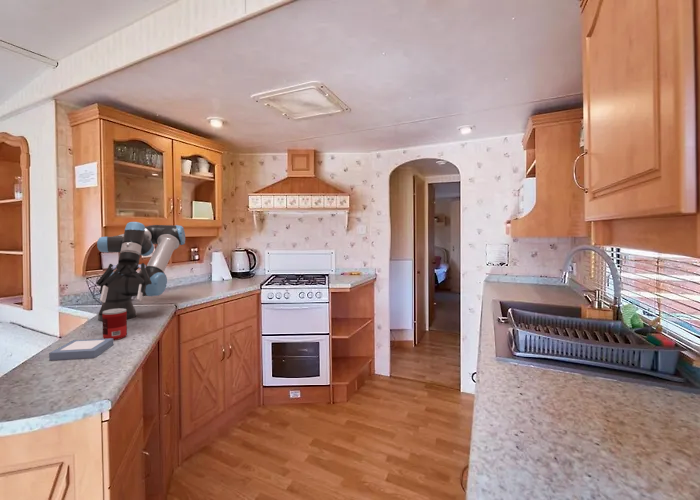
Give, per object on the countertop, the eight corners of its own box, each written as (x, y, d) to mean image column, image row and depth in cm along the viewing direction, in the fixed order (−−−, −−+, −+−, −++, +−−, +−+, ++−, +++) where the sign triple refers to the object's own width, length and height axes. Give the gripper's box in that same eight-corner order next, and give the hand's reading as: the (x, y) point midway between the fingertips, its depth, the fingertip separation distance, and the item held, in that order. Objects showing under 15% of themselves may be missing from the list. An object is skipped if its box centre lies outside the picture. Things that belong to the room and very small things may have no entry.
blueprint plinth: (73, 346, 119) (73, 339, 119) (113, 344, 122) (113, 338, 122) (49, 360, 106) (49, 352, 106) (94, 357, 109) (94, 350, 109)
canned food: (131, 334, 134) (131, 308, 134) (115, 341, 126) (115, 313, 126) (114, 333, 135) (114, 307, 134) (97, 340, 127) (97, 312, 126)
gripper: (93, 251, 138) (81, 299, 129) (158, 250, 143) (150, 296, 134) (102, 258, 144) (91, 304, 135) (163, 257, 149) (157, 301, 140)
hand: (121, 300), depth 134 cm, fingers open, 13 cm apart
